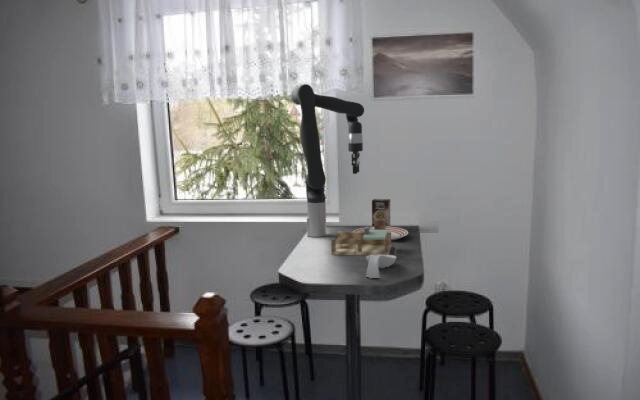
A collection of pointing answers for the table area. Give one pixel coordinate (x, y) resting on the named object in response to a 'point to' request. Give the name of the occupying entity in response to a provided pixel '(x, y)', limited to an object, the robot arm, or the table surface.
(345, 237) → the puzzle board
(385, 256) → the spoon rest
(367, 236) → the sliding cover
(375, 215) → the coffee box
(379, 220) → the walnut block
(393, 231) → the dinner plate
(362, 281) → the table surface
